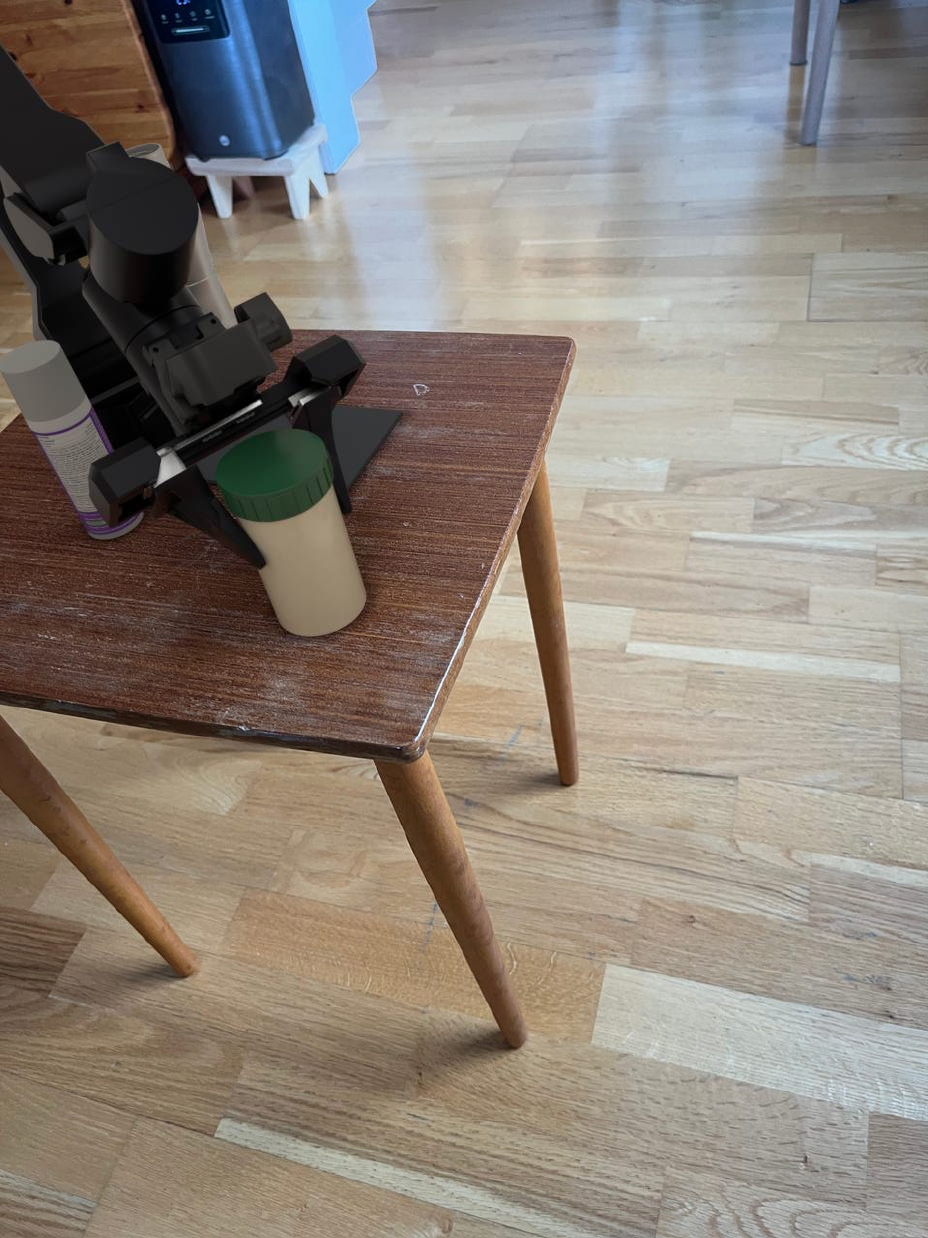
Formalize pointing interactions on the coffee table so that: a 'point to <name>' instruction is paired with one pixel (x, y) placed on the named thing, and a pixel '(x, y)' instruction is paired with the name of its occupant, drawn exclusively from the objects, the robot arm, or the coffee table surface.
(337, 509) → the jar
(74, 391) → the container
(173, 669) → the coffee table surface
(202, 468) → the mat
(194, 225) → the robot arm
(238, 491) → the jar lid
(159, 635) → the coffee table surface
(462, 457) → the coffee table surface
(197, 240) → the silver metal bottle
